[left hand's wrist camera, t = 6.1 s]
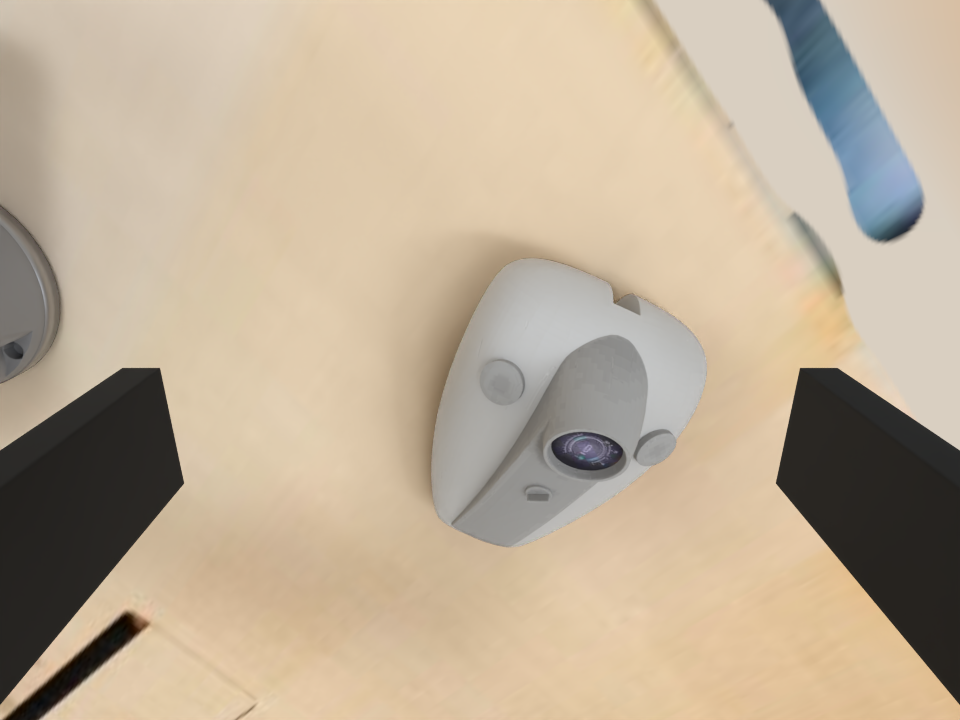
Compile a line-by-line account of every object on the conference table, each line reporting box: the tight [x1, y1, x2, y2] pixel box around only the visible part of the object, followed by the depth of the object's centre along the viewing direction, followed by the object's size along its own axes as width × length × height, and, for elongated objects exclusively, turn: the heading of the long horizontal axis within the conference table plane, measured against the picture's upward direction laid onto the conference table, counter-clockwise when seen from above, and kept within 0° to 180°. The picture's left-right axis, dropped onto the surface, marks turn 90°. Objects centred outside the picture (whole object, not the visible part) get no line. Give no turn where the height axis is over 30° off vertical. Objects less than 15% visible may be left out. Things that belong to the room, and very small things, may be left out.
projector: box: [431, 258, 707, 547], centre depth 40 cm, size 22×23×15 cm
